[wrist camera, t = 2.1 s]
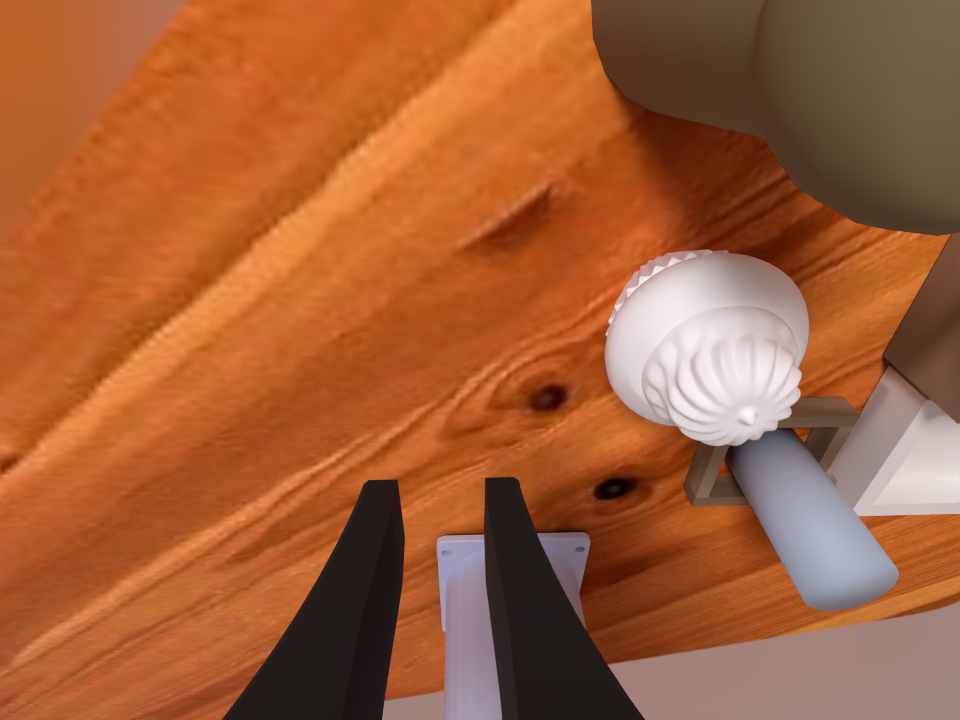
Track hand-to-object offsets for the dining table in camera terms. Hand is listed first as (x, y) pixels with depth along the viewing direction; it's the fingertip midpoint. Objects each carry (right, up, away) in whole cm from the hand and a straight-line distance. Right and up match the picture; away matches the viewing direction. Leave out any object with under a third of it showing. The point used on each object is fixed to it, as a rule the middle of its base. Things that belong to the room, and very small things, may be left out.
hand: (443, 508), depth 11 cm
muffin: (+8, +6, +8) cm, 12 cm away
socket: (+14, -1, +13) cm, 19 cm away
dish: (+21, 0, +12) cm, 24 cm away
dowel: (+14, -1, +13) cm, 19 cm away
